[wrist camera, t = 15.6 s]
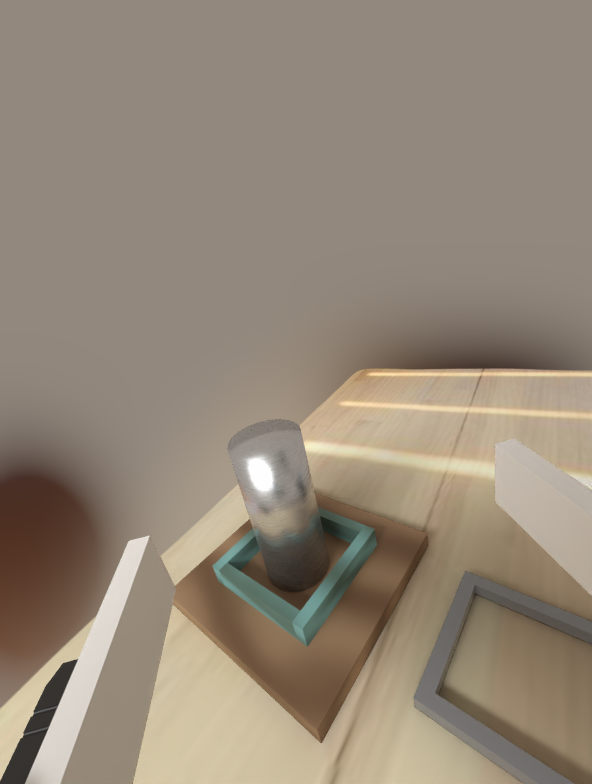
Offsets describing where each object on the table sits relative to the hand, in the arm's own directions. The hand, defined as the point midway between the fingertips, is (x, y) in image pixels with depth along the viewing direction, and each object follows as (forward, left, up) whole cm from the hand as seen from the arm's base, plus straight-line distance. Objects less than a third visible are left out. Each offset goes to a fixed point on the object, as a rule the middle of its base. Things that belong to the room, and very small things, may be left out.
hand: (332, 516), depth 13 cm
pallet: (-8, -13, -19) cm, 25 cm away
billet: (-8, -13, -18) cm, 23 cm away
